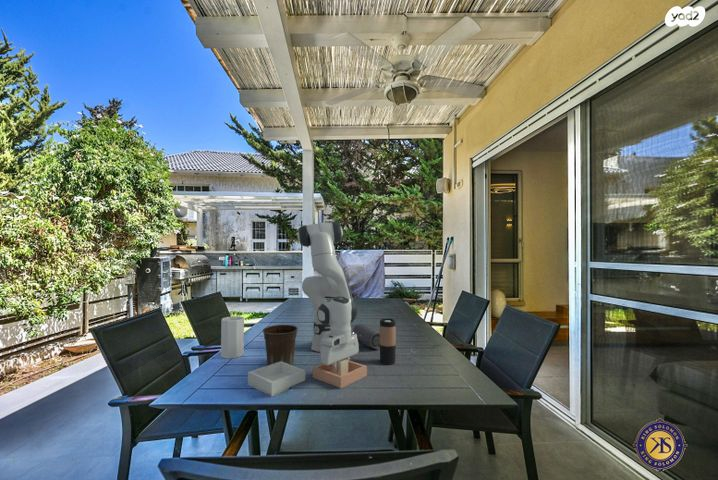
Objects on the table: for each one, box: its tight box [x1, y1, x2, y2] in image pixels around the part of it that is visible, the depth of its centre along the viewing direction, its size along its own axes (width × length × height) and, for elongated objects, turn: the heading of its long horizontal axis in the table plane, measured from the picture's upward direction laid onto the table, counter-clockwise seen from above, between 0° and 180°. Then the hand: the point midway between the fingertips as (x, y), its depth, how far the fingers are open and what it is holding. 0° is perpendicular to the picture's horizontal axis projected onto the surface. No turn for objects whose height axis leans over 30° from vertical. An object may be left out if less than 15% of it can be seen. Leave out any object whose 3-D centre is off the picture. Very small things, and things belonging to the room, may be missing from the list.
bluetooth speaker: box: [352, 323, 380, 349], centre depth 181 cm, size 23×9×10 cm, turn 25°
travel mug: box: [379, 318, 397, 366], centre depth 154 cm, size 8×8×20 cm
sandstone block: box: [333, 359, 348, 376], centre depth 135 cm, size 4×4×6 cm
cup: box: [220, 315, 245, 360], centre depth 163 cm, size 11×11×18 cm
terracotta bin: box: [312, 360, 368, 389], centre depth 135 cm, size 16×16×5 cm
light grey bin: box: [247, 361, 306, 397], centre depth 129 cm, size 16×16×5 cm
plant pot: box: [262, 324, 299, 366], centre depth 153 cm, size 16×16×16 cm
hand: (340, 369), depth 135 cm, fingers closed on sandstone block, 4 cm apart
